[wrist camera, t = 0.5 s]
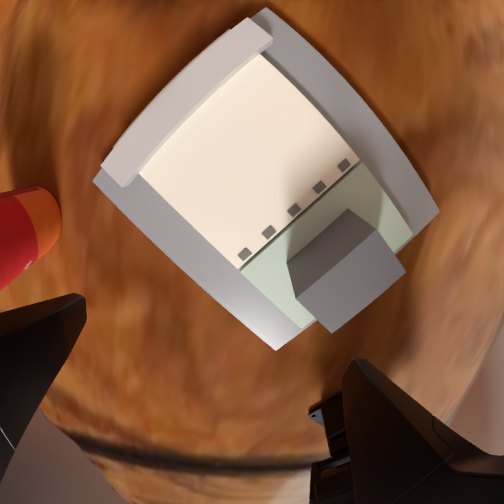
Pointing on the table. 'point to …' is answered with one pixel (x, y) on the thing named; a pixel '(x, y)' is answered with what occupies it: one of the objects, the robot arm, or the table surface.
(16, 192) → the paper cup
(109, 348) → the table surface
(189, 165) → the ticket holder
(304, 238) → the gray block on plate
